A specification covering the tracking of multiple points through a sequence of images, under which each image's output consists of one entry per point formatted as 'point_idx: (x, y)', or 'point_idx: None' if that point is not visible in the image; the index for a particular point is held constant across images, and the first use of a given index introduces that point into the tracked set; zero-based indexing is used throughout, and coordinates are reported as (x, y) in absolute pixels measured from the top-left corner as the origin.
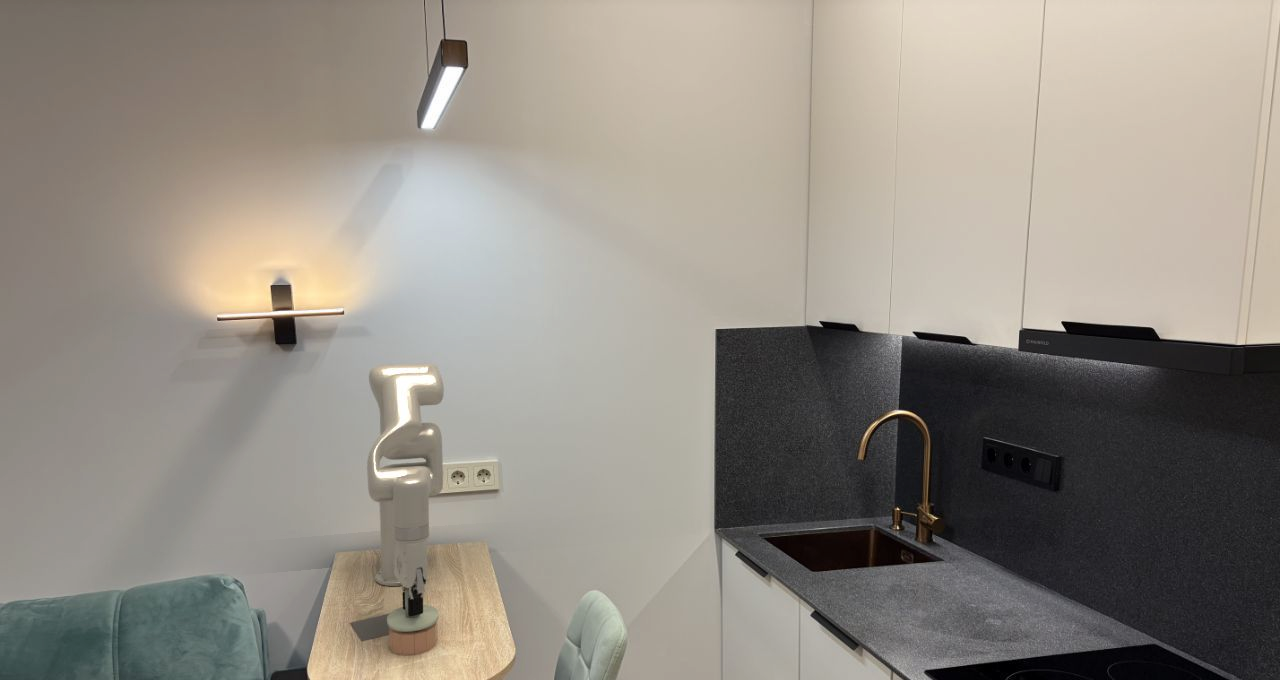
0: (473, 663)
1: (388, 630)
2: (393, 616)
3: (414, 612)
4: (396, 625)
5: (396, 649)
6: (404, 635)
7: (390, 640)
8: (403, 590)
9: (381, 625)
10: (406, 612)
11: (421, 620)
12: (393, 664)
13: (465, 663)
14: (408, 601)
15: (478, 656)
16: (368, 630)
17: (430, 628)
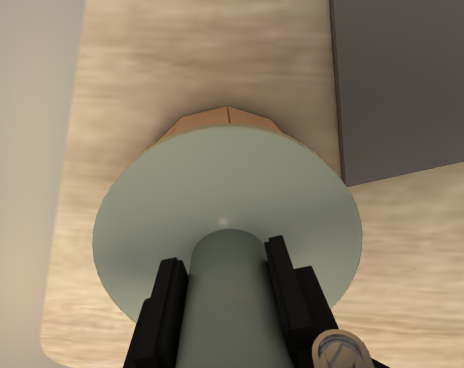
0: (76, 318)
1: (377, 110)
2: (249, 169)
3: (147, 300)
4: (116, 180)
5: (165, 135)
6: None
7: (207, 119)
8: (339, 337)
9: (440, 84)
10: (210, 251)
11: (149, 292)
12: (109, 114)
13: (79, 303)
14: (138, 341)
15: (113, 330)
16: (425, 23)
17: None
